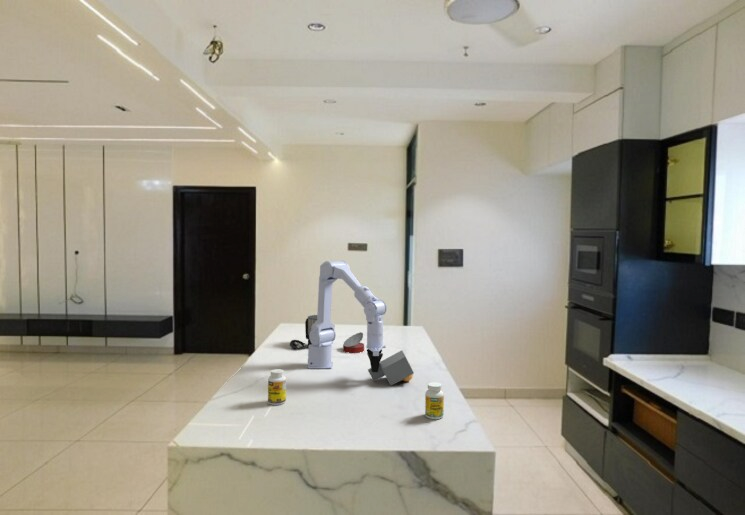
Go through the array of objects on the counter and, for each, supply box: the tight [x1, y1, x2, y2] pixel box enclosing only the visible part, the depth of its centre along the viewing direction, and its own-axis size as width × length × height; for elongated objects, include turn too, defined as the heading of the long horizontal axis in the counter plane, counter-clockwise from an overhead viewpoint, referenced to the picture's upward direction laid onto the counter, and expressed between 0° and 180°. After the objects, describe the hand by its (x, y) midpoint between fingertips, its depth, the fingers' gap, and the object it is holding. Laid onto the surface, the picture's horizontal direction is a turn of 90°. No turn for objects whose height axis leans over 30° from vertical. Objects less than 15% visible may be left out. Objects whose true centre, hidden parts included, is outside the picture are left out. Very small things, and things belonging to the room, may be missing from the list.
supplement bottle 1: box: [267, 368, 287, 406], centre depth 141 cm, size 6×6×10 cm
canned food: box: [342, 331, 365, 354], centre depth 207 cm, size 11×10×10 cm
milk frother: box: [289, 314, 317, 350], centre depth 211 cm, size 14×16×15 cm
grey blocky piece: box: [367, 350, 415, 386], centre depth 163 cm, size 14×9×8 cm, turn 93°
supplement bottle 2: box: [424, 381, 445, 420], centre depth 132 cm, size 5×5×10 cm
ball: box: [401, 374, 414, 382], centre depth 164 cm, size 5×5×5 cm
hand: (374, 370), depth 163 cm, fingers open, 3 cm apart
